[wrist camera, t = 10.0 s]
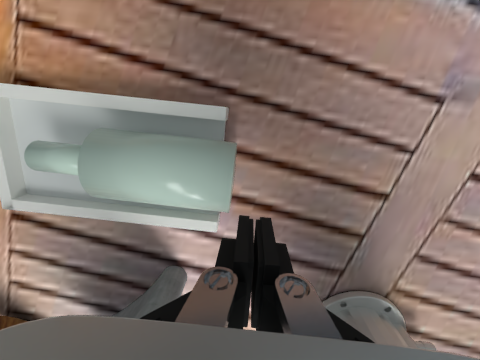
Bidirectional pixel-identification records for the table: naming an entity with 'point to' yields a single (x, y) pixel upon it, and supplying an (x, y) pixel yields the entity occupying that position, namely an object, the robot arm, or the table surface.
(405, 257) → the table surface
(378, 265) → the table surface
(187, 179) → the bottle
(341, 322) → the robot arm
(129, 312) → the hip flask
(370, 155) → the table surface
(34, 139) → the white rectangular tray
